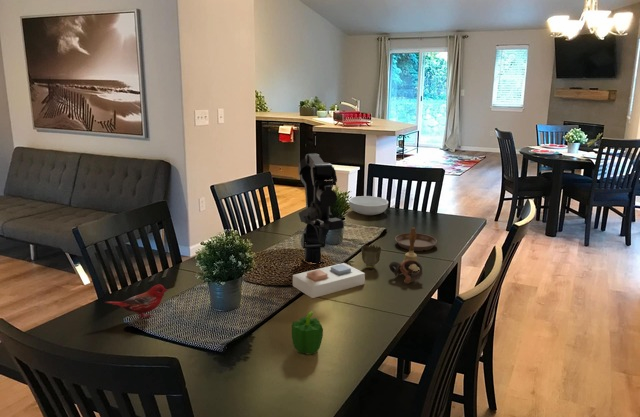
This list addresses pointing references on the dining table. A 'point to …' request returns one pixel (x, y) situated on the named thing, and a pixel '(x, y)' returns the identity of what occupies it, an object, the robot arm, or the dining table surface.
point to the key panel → (328, 282)
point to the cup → (370, 255)
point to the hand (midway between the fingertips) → (321, 242)
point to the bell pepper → (307, 334)
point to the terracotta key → (317, 275)
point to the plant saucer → (416, 241)
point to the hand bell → (412, 250)
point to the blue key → (340, 269)
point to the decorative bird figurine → (143, 301)
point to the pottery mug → (406, 270)
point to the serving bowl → (368, 205)
